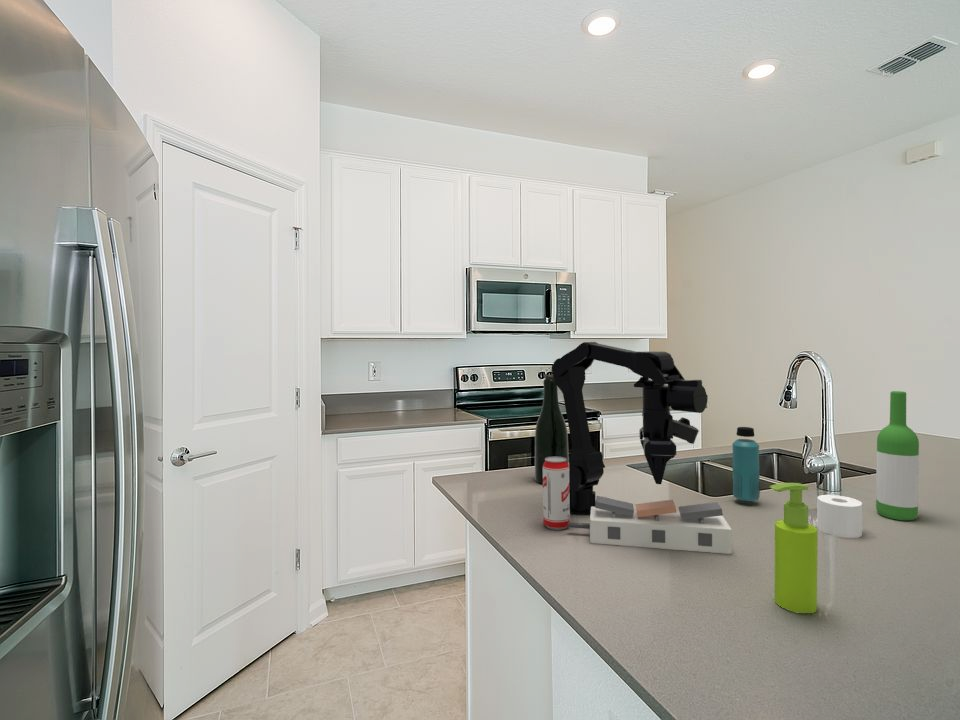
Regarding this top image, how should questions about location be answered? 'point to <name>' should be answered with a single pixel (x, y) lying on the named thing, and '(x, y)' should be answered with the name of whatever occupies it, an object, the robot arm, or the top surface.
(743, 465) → the beverage bottle
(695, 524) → the power strip
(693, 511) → the rocker
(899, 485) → the wine bottle
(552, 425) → the beer bottle
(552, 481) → the beer can
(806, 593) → the soap dispenser
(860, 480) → the top surface
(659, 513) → the rocker
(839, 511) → the toilet paper
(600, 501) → the rocker
